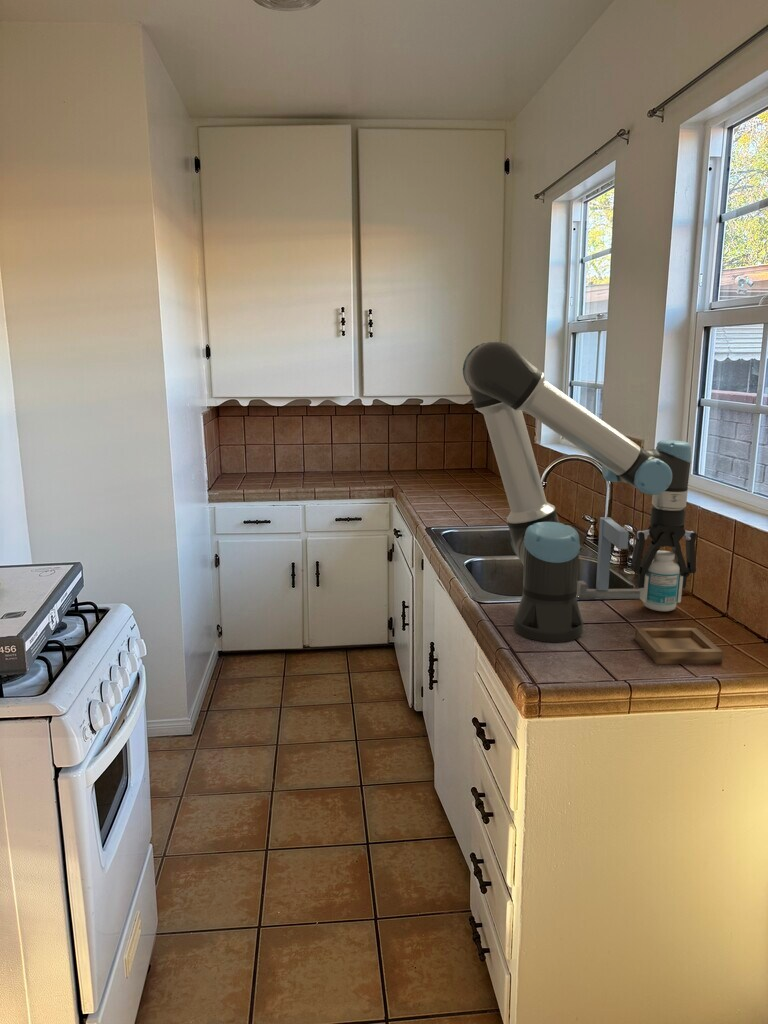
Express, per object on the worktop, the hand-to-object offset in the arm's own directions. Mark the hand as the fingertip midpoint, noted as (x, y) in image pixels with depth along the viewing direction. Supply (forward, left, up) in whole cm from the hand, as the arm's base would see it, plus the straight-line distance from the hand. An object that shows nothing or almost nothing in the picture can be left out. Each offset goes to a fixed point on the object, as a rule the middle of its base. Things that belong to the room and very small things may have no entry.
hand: (659, 600), depth 175 cm
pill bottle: (0, 0, -2) cm, 2 cm away
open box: (-6, -25, -2) cm, 26 cm away
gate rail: (-6, +9, -2) cm, 11 cm away
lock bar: (-11, +3, 0) cm, 12 cm away
